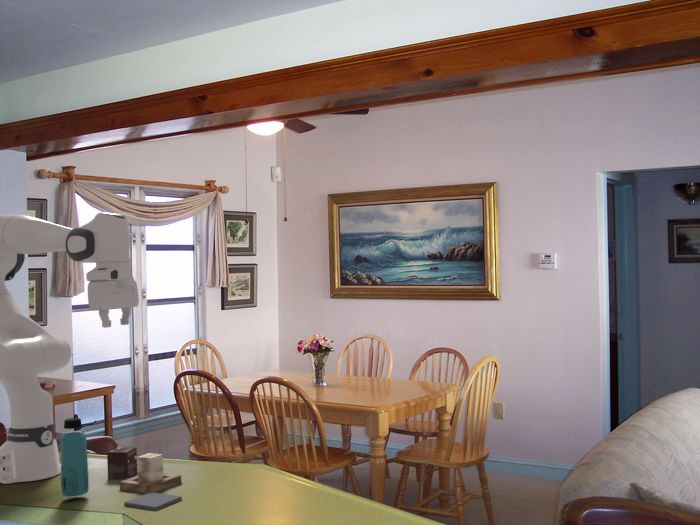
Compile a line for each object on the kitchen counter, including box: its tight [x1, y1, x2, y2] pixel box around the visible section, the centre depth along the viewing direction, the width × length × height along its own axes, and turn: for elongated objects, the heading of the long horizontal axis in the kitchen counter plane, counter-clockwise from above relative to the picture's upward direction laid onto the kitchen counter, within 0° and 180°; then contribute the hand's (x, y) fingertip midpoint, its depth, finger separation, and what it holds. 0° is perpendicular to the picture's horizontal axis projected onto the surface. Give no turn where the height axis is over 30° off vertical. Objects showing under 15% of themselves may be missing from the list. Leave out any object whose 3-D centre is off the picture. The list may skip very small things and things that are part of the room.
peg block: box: [137, 452, 164, 483], centre depth 197 cm, size 4×4×8 cm
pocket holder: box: [119, 472, 182, 494], centre depth 197 cm, size 11×11×2 cm
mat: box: [123, 492, 183, 511], centre depth 182 cm, size 10×9×1 cm
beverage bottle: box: [59, 417, 90, 498], centre depth 188 cm, size 6×7×20 cm
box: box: [106, 447, 138, 480], centre depth 209 cm, size 6×6×7 cm
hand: (116, 326), depth 198 cm, fingers open, 8 cm apart
